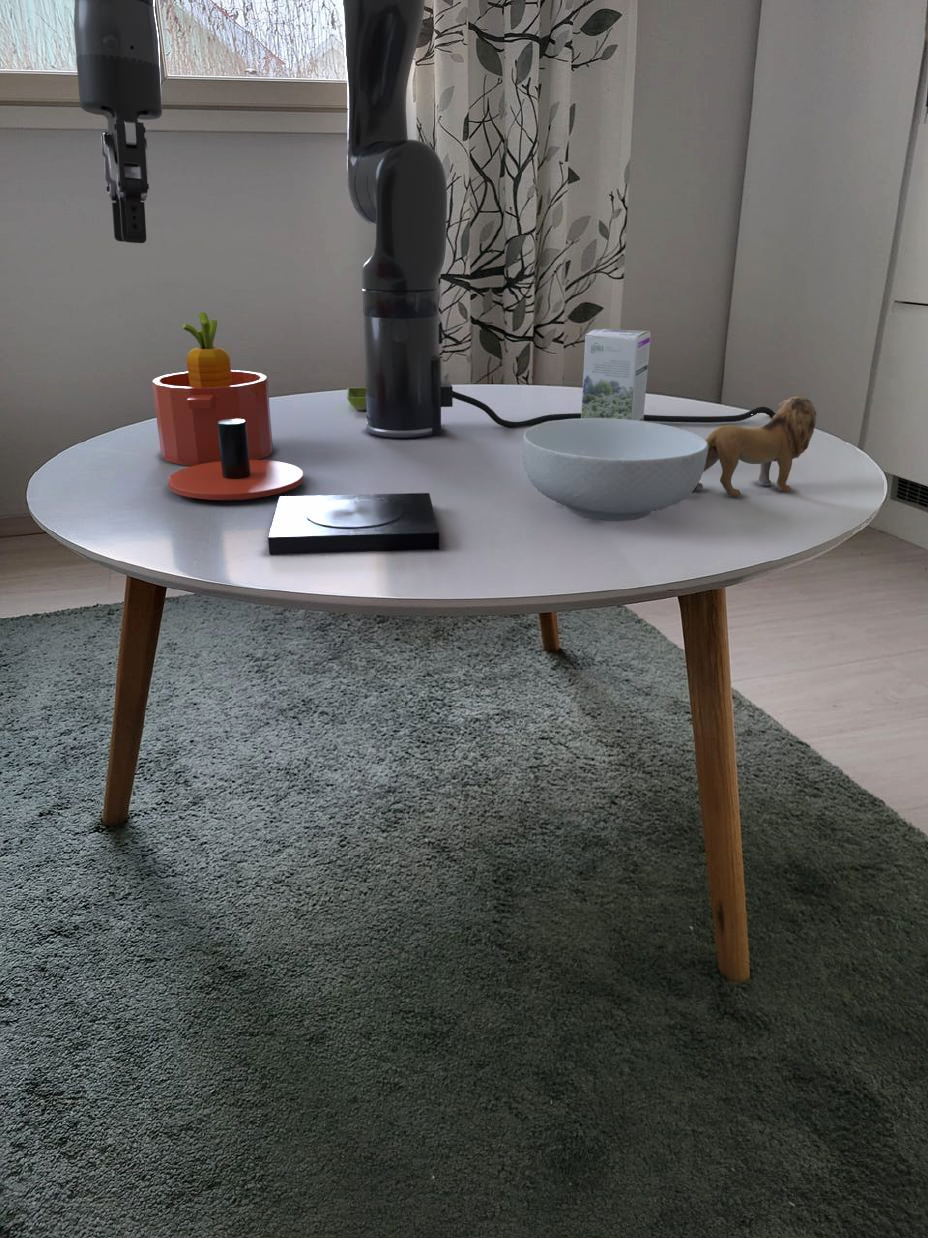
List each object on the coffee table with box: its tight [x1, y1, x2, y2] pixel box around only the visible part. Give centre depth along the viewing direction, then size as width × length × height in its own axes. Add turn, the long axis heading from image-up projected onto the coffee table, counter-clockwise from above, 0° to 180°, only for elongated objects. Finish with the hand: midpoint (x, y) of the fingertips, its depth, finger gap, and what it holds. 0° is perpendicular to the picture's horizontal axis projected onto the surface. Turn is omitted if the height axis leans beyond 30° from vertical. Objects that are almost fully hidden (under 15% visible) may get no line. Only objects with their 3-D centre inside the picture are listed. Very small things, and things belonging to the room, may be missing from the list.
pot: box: [151, 369, 273, 467], centre depth 107 cm, size 12×18×8 cm
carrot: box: [182, 312, 232, 387], centre depth 105 cm, size 5×5×15 cm
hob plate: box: [267, 492, 440, 555], centre depth 82 cm, size 14×12×2 cm
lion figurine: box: [690, 396, 818, 498], centre depth 93 cm, size 15×5×9 cm, turn 116°
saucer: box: [346, 386, 367, 411], centre depth 134 cm, size 9×9×2 cm
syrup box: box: [580, 328, 651, 421], centre depth 101 cm, size 6×6×14 cm
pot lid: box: [167, 419, 305, 502], centre depth 94 cm, size 13×13×7 cm
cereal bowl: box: [521, 418, 708, 522], centre depth 87 cm, size 17×17×7 cm
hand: (129, 242), depth 94 cm, fingers open, 8 cm apart
